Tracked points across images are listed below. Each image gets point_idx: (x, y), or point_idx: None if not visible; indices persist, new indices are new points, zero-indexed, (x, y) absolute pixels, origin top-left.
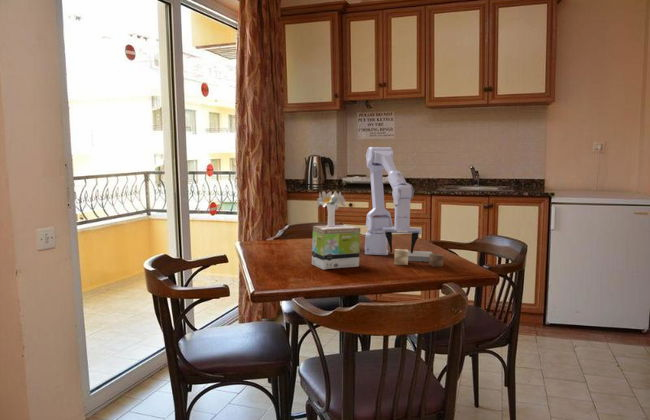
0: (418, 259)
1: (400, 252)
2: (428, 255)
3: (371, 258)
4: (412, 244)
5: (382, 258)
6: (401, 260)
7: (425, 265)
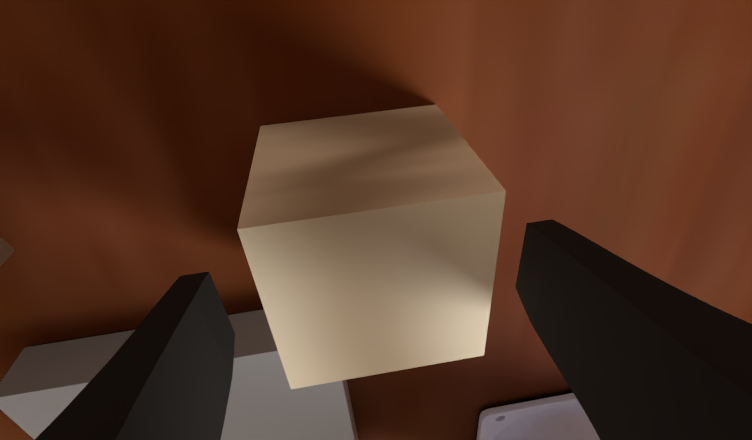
0: None
1: (390, 196)
2: None
3: None
4: (107, 412)
5: None
6: (352, 137)
7: (15, 159)
